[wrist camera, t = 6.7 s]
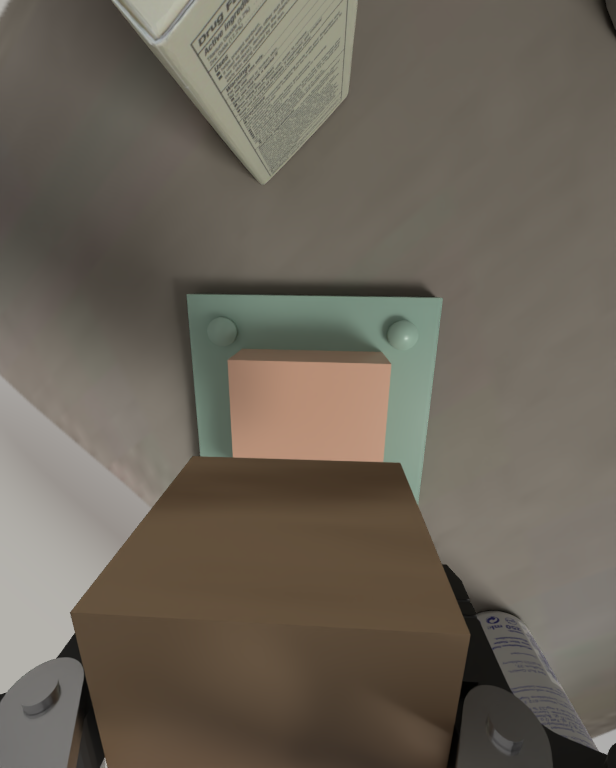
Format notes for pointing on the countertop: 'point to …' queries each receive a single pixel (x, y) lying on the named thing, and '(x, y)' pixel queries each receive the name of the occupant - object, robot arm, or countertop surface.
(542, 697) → the energy drink
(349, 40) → the skincare box
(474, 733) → the robot arm
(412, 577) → the walnut block
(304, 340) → the plate
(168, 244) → the countertop surface
